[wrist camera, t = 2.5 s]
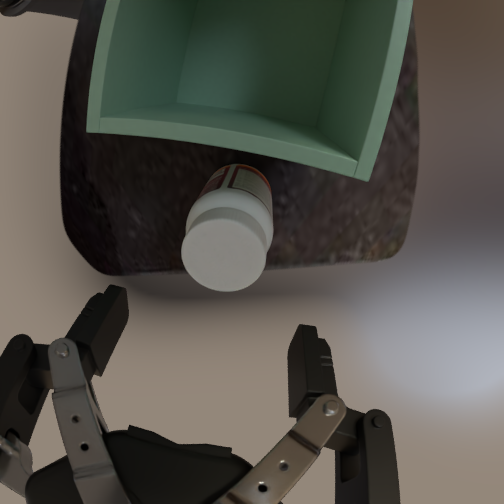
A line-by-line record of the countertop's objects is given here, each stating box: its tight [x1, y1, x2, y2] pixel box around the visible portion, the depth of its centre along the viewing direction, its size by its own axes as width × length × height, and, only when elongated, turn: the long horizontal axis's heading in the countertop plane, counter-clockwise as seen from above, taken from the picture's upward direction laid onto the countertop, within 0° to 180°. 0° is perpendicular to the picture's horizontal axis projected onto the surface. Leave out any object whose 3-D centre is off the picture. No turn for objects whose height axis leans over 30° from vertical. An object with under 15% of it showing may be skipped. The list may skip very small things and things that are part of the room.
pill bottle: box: [181, 164, 273, 291], centre depth 22 cm, size 6×6×11 cm
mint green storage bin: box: [86, 0, 413, 182], centre depth 13 cm, size 16×14×13 cm
